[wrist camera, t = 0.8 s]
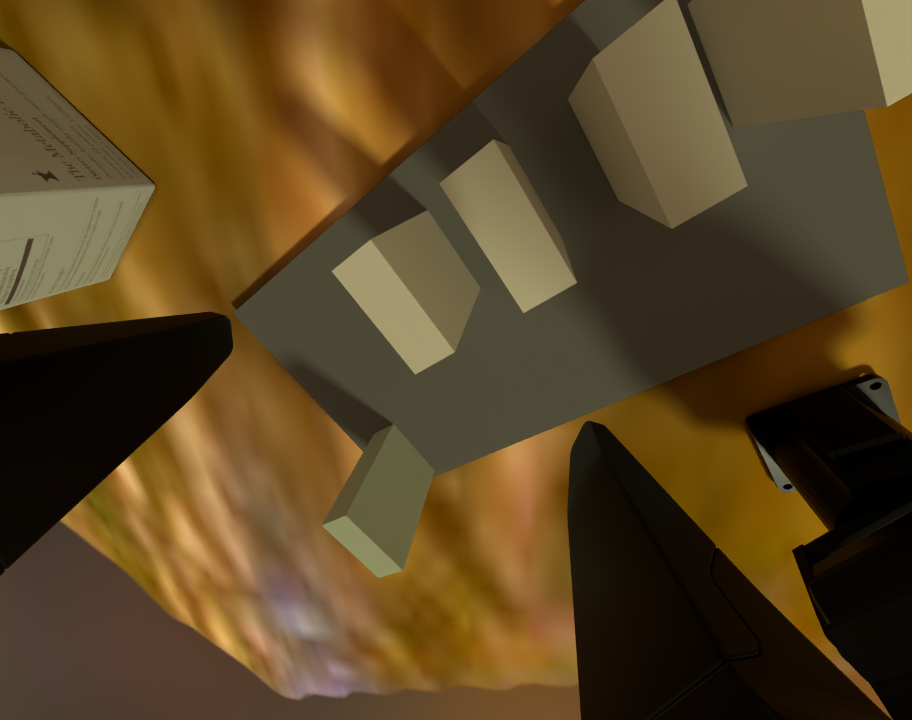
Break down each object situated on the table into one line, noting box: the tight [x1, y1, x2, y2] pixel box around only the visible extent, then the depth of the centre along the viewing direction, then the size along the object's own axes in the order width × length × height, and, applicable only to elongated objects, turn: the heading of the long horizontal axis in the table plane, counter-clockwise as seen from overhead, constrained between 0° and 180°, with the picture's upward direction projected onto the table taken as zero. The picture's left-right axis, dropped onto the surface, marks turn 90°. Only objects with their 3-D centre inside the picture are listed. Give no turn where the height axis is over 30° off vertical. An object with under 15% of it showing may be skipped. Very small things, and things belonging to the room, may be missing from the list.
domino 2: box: [322, 424, 435, 578], centre depth 25 cm, size 5×2×8 cm, turn 36°
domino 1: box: [332, 210, 480, 375], centre depth 17 cm, size 5×2×8 cm, turn 36°
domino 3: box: [439, 139, 577, 313], centre depth 15 cm, size 5×2×8 cm, turn 36°
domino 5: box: [688, 0, 912, 128], centre depth 11 cm, size 5×2×8 cm, turn 36°
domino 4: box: [568, 0, 748, 229], centre depth 13 cm, size 5×2×8 cm, turn 36°
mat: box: [233, 0, 909, 477], centre depth 21 cm, size 18×32×1 cm, turn 126°
